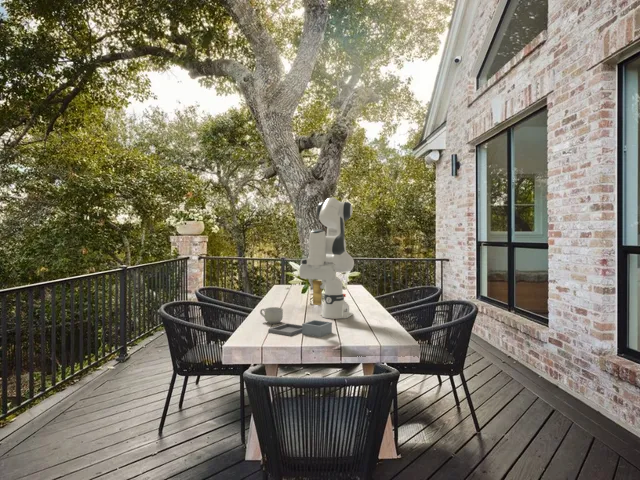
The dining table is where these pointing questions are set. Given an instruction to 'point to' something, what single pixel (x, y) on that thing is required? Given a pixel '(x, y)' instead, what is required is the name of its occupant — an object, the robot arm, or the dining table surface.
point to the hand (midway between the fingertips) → (317, 288)
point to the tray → (286, 329)
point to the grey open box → (317, 328)
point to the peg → (317, 292)
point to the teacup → (272, 314)
